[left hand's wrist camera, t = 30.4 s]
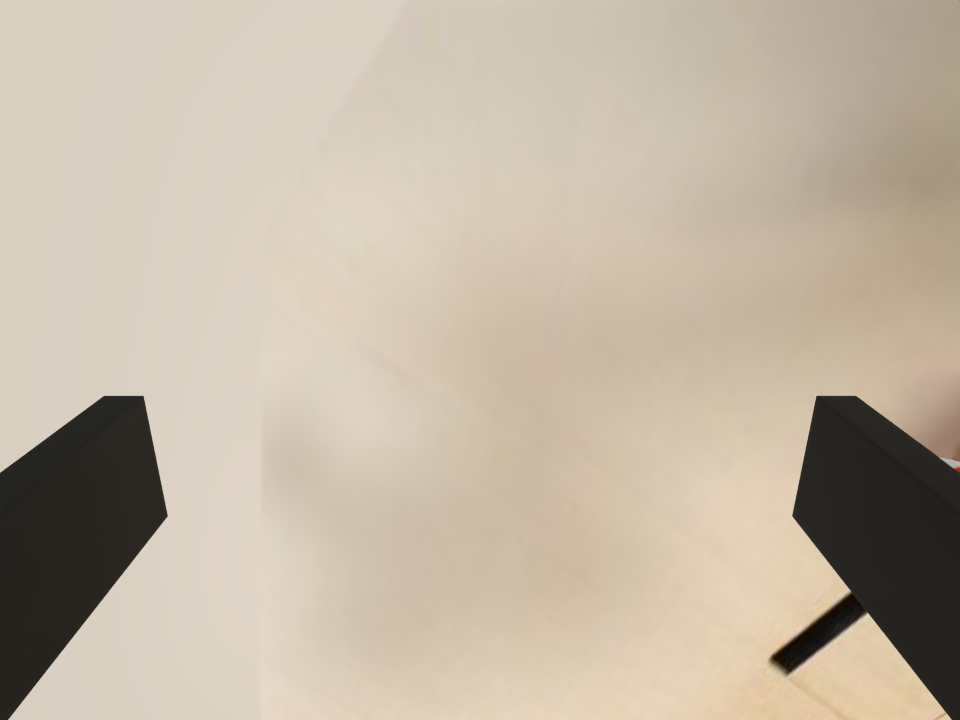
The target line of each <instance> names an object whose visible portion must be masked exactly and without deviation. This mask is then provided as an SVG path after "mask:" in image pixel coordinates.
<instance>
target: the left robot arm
mask: <svg viewBox="0 0 960 720" xmlns="http://www.w3.org/2000/svg"><path fill="white" fill-rule="evenodd" d="M167 516H168V515H167V510H166V505H165V500H164V495H163V491H162V485H161V481H160V476H159V471H158V466H157V461H156V456H155V451H154V446H153V441H152V436H151V431H150V426H149V421H148V416H147V412H146V406H145V401H144V396H103V397H102V398H101V399H99V400H98V401H97V402H95V403H94V404H93V405H91V406H90V407H89V408H87V409H86V410H85V411H83V412H82V413H80V414H79V415H78V416H76V417H75V418H74V419H72V420H71V421H70V422H68V423H67V424H66V425H64V426H63V427H62V428H60V429H59V430H57V431H56V432H55V433H53V434H52V435H51V436H49V437H48V438H47V439H45V440H44V441H43V442H41V443H40V444H39V445H37V446H36V447H35V448H33V449H32V450H30V451H29V452H28V453H26V454H25V455H24V456H22V457H21V458H20V459H18V460H17V461H16V462H14V463H13V464H12V465H10V466H9V467H8V468H6V469H5V470H4V471H2V472H1V473H0V720H8V719H9V718H10V717H11V715H12V714H13V713H14V712H15V710H16V709H17V708H18V706H19V705H20V704H21V703H22V701H23V700H24V699H25V697H26V696H27V695H28V694H29V692H30V691H31V690H32V689H33V687H34V686H35V685H36V683H37V682H38V681H39V680H40V678H41V677H42V676H43V675H44V673H45V672H46V671H47V669H48V668H49V667H50V666H51V664H52V663H53V662H54V661H55V659H56V658H57V657H58V655H59V654H60V653H61V652H62V650H63V649H64V648H65V646H66V645H67V644H68V643H69V641H70V640H71V639H72V638H73V636H74V635H75V634H76V632H77V631H78V630H79V629H80V627H81V626H82V625H83V623H84V622H85V621H86V620H87V618H88V617H89V616H90V615H91V613H92V612H93V611H94V610H95V608H96V607H97V606H98V604H99V603H100V602H101V601H102V599H103V598H104V597H105V595H106V594H107V593H108V592H109V590H110V589H111V588H112V586H113V585H114V584H115V583H116V581H117V580H118V579H119V578H120V576H121V575H122V574H123V573H124V571H125V570H126V569H127V567H128V566H129V565H130V564H131V562H132V561H133V560H134V558H135V557H136V556H137V555H138V553H139V552H140V551H141V549H142V548H143V547H144V546H145V544H146V543H147V542H148V541H149V539H150V538H151V537H152V536H153V534H154V533H155V532H156V530H157V529H158V528H159V527H160V525H161V524H162V523H163V521H164V520H165V519H166V518H167ZM792 516H793V518H794V519H795V520H796V521H797V523H798V524H799V525H800V527H801V528H802V529H803V530H804V532H805V533H806V534H807V536H808V537H809V538H810V539H811V541H812V542H813V543H814V544H815V546H816V547H817V548H818V550H819V551H820V552H821V553H822V555H823V556H824V557H825V558H826V560H827V561H828V562H829V564H830V565H831V566H832V567H833V569H834V570H835V571H836V573H837V574H838V575H839V576H840V578H841V579H842V580H843V581H844V583H845V584H846V585H847V587H848V588H849V589H850V590H851V592H852V593H853V594H854V595H855V597H856V598H857V599H858V601H859V602H860V603H861V604H862V606H863V607H864V608H865V610H866V611H867V612H868V613H869V615H870V616H871V617H872V618H873V620H874V621H875V622H876V624H877V625H878V626H879V627H880V629H881V630H882V631H883V632H884V634H885V635H886V636H887V638H888V639H889V640H890V641H891V643H892V644H893V645H894V647H895V648H896V649H897V650H898V652H899V653H900V654H901V655H902V657H903V658H904V659H905V661H906V662H907V663H908V664H909V666H910V667H911V668H912V669H913V671H914V672H915V673H916V675H917V676H918V677H919V678H920V680H921V681H922V682H923V683H924V685H925V686H926V687H927V689H928V690H929V691H930V692H931V694H932V695H933V696H934V698H935V699H936V700H937V701H938V703H939V704H940V705H941V706H942V708H943V709H944V710H945V712H946V713H947V714H948V715H949V717H950V718H951V719H952V720H960V473H959V472H958V471H957V470H955V469H954V468H952V467H951V466H950V465H948V464H947V463H946V462H944V461H943V460H942V459H940V458H939V457H938V456H936V455H935V454H934V453H932V452H931V451H930V450H928V449H927V448H925V447H924V446H923V445H921V444H920V443H919V442H917V441H916V440H915V439H913V438H912V437H911V436H909V435H908V434H907V433H905V432H904V431H903V430H901V429H900V428H898V427H897V426H896V425H894V424H893V423H892V422H890V421H889V420H888V419H886V418H885V417H884V416H882V415H881V414H880V413H878V412H877V411H875V410H874V409H873V408H871V407H870V406H869V405H867V404H866V403H865V402H863V401H862V400H861V399H859V398H858V397H857V396H816V401H815V406H814V411H813V416H812V421H811V426H810V431H809V436H808V441H807V446H806V451H805V456H804V461H803V466H802V471H801V476H800V480H799V485H798V490H797V495H796V500H795V505H794V510H793V515H792Z"/></svg>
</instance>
